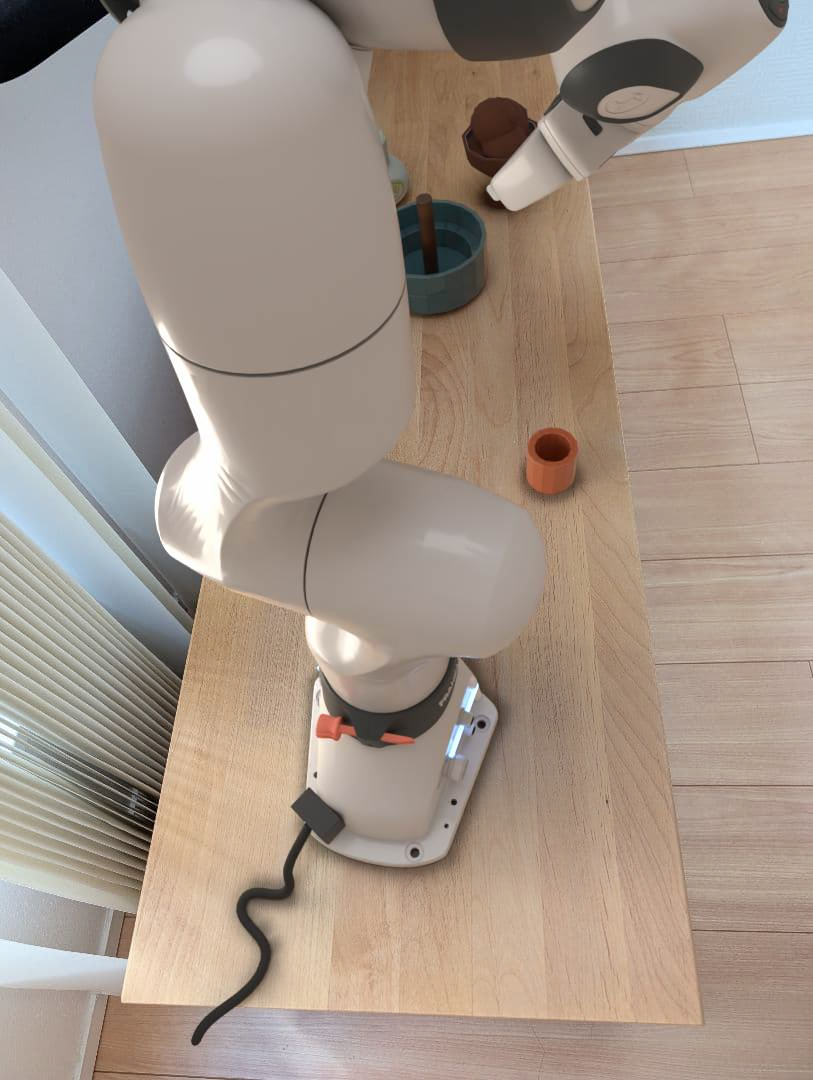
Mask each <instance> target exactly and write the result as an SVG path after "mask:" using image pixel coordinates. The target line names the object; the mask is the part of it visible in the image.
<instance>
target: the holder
mask: <svg viewBox="0 0 813 1080" xmlns="http://www.w3.org/2000/svg"><path fill="white" fill-rule="evenodd" d="M578 455H579V445H578V441H577V439H576V438H575V437H574V435H573V434H572V433H571V432H569V431H568V430H565V429H563V428H561V427H553V426H552V427H551V426H550V427H546V428H541V429H539V430H537V431H536V432H535V433H533V434H532V435H531V436H530V438H529V440H528V442H527V445H526V465H525V467H526V468H525V473H526V480H527V482H528V484H529V485H530V487H532V489H533V490H535V491H537V492H538V493H541V494H543V495H557V494H560V493H563V492H565V491H567V490H568V489H569V488H570V487H571V486H572V484H573V483H574V480H575V477H576V472H577V463H578V457H579V456H578Z"/></svg>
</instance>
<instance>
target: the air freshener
mask: <svg viewBox="0 0 813 1080" xmlns="http://www.w3.org/2000/svg"><path fill="white" fill-rule="evenodd" d="M378 132H379V136H380V139H381V143H382V146H383V150H384V154H385V158H386V163H387V167H388V171H389V176H390V180H391V184H392V189H393V193H394V199H395V205H397V204H398V203H399V202H400V201H402V199H403V198H404V197H405V196H406V194H407V191H408V190H409V184H410V175H409V172H408V171H409V170H408V168H407V166H406V165H405V164H404V163H403V161H402V160H400V159H399V157H397V156H395V155H393V154H391V153H389V147H388V143H387V136H386V134H385V132H384V131H383V130H382V129H380V128H378Z"/></svg>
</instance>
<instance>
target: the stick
mask: <svg viewBox="0 0 813 1080" xmlns="http://www.w3.org/2000/svg"><path fill="white" fill-rule="evenodd" d="M432 199H433V196H432V195H431V194H430V193H428V192H425V193H424V192H423V193H420V194H418V195H417V196H416V199H415V200H416V201H415V202H417V211H418V220H419V228H420V237H421V246H422V254H423V263H424V271H425V275H430V274H436V273H439V265H438V254H437V244H436V233H435V223H434V213H433V202H432Z"/></svg>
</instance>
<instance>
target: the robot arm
mask: <svg viewBox="0 0 813 1080" xmlns="http://www.w3.org/2000/svg"><path fill="white" fill-rule="evenodd" d="M99 2H100V3H101V4H102V6H103V8H104V9H105V10H106V11H107V13H109V15H110V16H111V17H112V18H113V19H114V21H116V22H117V23H118V26H117V28H115V30H114V31H113V33H112V34H111V36H110V37H109V38H108V40H107V42H106V43H105V45H104V47H103V49H102V52H101V54H100V57H99V59H98V62H97V64H96V69H95V73H94V77H93V91H92V106H93V108H92V109H93V117H94V121H95V128H96V131H97V137H98V142H99V147H100V152H101V157H102V161H103V166H104V170H105V174H106V177H107V182H108V187H109V191H110V194H111V199H112V203H113V206H114V210H115V215H116V218H117V222H118V226H119V228H120V232H121V235H122V239H123V242H124V245H125V248H126V251H127V255H128V258H129V262H130V263H131V267H132V269H133V272H134V276H135V277H136V280H137V283H138V286H139V289H140V292H141V294H142V297H143V299H144V301H145V304H146V306H147V307H146V308H147V309H148V311H149V314H150V316H151V319H152V321H153V323H154V326H155V328H156V330H157V332H158V335H159V338H160V340H161V342H162V344H163V346H164V348H165V350H166V353H167V356H168V358H169V360H170V362H171V364H172V367H173V369H174V373H175V374H176V376H177V379H178V381H179V384H180V386H181V388H182V391H183V394H184V396H185V399H186V402H187V404H188V406H189V409H190V411H191V415H192V416H193V419H194V422H195V424H196V427H197V431H195V432H194V433H192V434H191V435H190V436H189V437H187V438H186V439H185V440H183V442H182V443H180V445H178V447H177V448H176V449H175V450H174V451H173V452H172V454H171V455H170V457H169V458H168V460H167V461H166V463H165V465H164V467H163V469H162V472H161V474H160V476H159V480H158V482H157V487H156V489H155V490H156V491H155V498H154V518H155V525H156V530H157V533H158V535H159V538H160V541H161V545H162V546H163V548H164V549H165V551H166V552H167V554H169V556H170V557H171V558H173V559H175V560H176V561H178V562H179V563H181V564H183V565H184V566H186V567H188V568H189V569H191V570H192V571H195V572H196V573H197V574H199V575H201V576H202V577H205V578H206V579H208V580H210V581H212V582H213V583H215V584H217V585H219V586H220V587H222V588H225V589H226V590H228V591H231V592H233V593H237V594H240V595H242V596H245V597H249V598H253V599H255V600H258V601H262V602H265V603H267V604H270V605H273V606H277V607H280V608H283V609H285V610H289V611H291V612H295V613H299V614H302V615H305V619H304V633H305V640H306V643H307V646H308V648H309V651H310V653H311V655H312V656H313V658H314V660H315V661H316V663H317V665H318V666H317V667H316V669H317V670H318V675H319V676H318V677H317V678H316V680H315V682H314V685H313V696H312V709H311V722H310V734H309V746H308V759H307V772H306V784H305V786H306V787H305V790H304V791H303V792H302V793H301V795H299V796H298V798H297V799H296V800H295V801H294V802H293V803H292V804H291V805H289V807H290V808H291V809H292V810H293V811H294V813H295V814H297V816H298V817H299V818H300V819H301V820H302V821H303V825H302V828H301V830H300V831H299V833H298V835H297V836H296V839H295V840H294V842H293V844H292V845H291V848H290V850H289V851H288V853H287V856H286V859H285V861H284V864H283V868H282V877H283V881H284V886H283V887H281V888H277V889H276V888H268V887H267V888H266V887H251V888H248V889H246V890H245V891H243V892H242V894H241V895H240V896H239V898H238V900H237V902H236V907H235V908H236V910H235V912H236V916H237V919H238V921H239V922H240V924H241V926H242V927H243V928H244V929H245V930H246V931H247V933H248V934H249V935H250V936H251V937H252V938H253V940H254V941H255V942H256V944H257V946H258V948H259V951H260V959H259V962H258V966H257V968H256V970H255V972H254V973H253V975H252V976H251V978H250V979H249V980H248V981H247V982H246V983H245V985H244V986H242V987H241V988H240V989H239V990H238V991H237V992H235V993H234V994H233V995H231V996H230V997H228V998H227V999H226V1000H225V1001H223V1002H222V1003H220V1004H219V1005H218V1006H216V1007H215V1008H214V1009H212V1010H211V1011H210V1012H209V1013H208V1014H206V1015H205V1016H204V1017H203V1018H202V1020H201V1021H200V1022H199V1023H198V1025H196V1027H195V1029H194V1031H193V1033H192V1036H191V1039H190V1043H191V1045H192V1046H194V1047H196V1046H199V1045H200V1043H201V1042H202V1040H203V1038H204V1036H205V1034H206V1033H207V1031H208V1030H209V1029H210V1028H211V1027H212V1026H213V1025H214V1024H215V1023H216V1022H218V1021H219V1020H220V1019H221V1018H223V1017H224V1016H225V1015H227V1014H228V1013H229V1012H231V1011H233V1009H235V1008H236V1007H237V1006H239V1005H240V1004H241V1003H242V1002H244V1001H245V1000H246V999H247V998H248V997H249V996H250V995H252V993H254V992H255V990H257V988H258V987H259V985H260V984H261V983H262V981H263V980H264V978H265V976H266V974H267V972H268V970H269V966H270V962H271V957H272V950H271V946H270V943H269V941H268V938H267V937H266V936H265V934H264V932H262V930H261V929H260V928H259V927H258V926H257V925H256V923H255V922H254V921H253V920H252V919H251V918H250V916H249V914H248V911H247V906H248V903H249V902H250V900H252V899H265V900H273V901H278V900H283V899H286V898H288V897H289V896H291V894H292V893H293V891H294V890H295V888H296V887H295V878H294V868H295V865H296V862H297V859H298V857H299V855H300V854H301V852H302V849H303V848H304V846H305V844H306V842H307V841H308V839H309V838H310V835H311V836H312V838H314V839H315V840H316V841H317V842H319V843H320V844H321V845H322V846H324V847H325V848H327V849H329V850H331V851H333V852H334V853H337V854H338V855H341V856H344V857H347V858H349V859H352V860H355V861H359V862H362V863H367V864H371V865H376V866H383V867H392V868H416V867H423V866H426V865H430V864H433V863H436V862H438V861H441V860H443V859H444V858H445V857H446V856H447V855H448V854H449V851H450V849H451V847H452V844H453V841H454V839H455V836H456V833H457V831H458V829H459V826H460V823H461V820H462V818H463V815H464V812H465V810H466V807H467V804H468V802H469V798H470V797H471V794H472V791H473V788H474V785H475V782H476V780H477V778H478V775H479V772H480V769H481V767H482V764H483V762H484V759H485V756H486V753H487V750H488V748H489V746H490V743H491V741H492V738H493V734H494V732H495V729H496V727H497V724H498V721H499V712H498V708H497V707H496V705H495V704H494V703H493V702H492V700H491V699H489V698H488V696H486V695H485V694H484V693H483V692H481V688H480V686H479V685H480V684H479V682H478V680H477V678H476V676H475V675H474V673H473V672H472V670H471V669H470V668H469V667H468V665H467V664H466V663H465V661H464V660H463V659H462V658H467V659H488V658H490V657H492V656H494V655H496V654H498V653H499V652H501V651H502V650H504V649H506V648H507V647H508V646H509V645H512V643H513V642H515V641H516V639H517V638H518V637H519V636H521V634H523V632H524V631H525V630H526V629H527V627H528V626H529V625H530V623H531V621H533V618H534V617H535V615H536V613H537V612H538V609H539V607H540V605H541V602H542V600H543V596H544V593H545V588H546V583H547V574H548V562H547V560H548V559H547V554H546V552H547V551H546V547H545V543H544V539H543V536H542V533H541V530H540V528H539V526H538V524H537V522H536V519H535V518H534V516H533V515H532V513H531V511H529V509H528V508H526V507H524V506H522V505H521V504H518V503H516V502H515V501H512V500H510V499H508V498H506V497H504V496H502V495H500V494H499V493H496V492H495V491H492V490H489V489H487V488H485V487H483V486H480V485H479V484H477V483H475V482H472V481H470V480H468V479H466V478H464V477H462V476H457V475H454V474H449V473H445V472H441V471H438V470H433V469H429V468H427V467H422V466H418V465H414V464H411V463H406V462H403V461H398V460H396V459H390V458H387V455H388V454H389V453H391V451H392V450H393V449H394V448H395V447H396V446H397V445H398V443H399V442H400V440H402V437H403V436H404V434H405V432H406V430H407V428H408V426H409V424H410V422H411V419H412V416H413V414H414V413H413V412H414V409H415V406H416V405H415V404H416V399H417V391H418V387H417V373H416V366H415V365H416V364H415V355H414V354H415V353H414V345H413V334H412V325H411V315H410V314H411V313H410V312H409V303H408V293H407V283H406V273H405V266H404V258H403V250H402V242H401V234H400V227H399V222H398V216H397V210H396V208H397V206H396V205H397V204H396V205H395V199H394V193H393V189H392V184H391V180H390V176H389V171H388V167H387V163H386V158H385V154H384V150H383V146H382V143H381V139H380V136H379V132H378V129H379V128H378V125H377V122H376V118H375V114H374V110H373V107H372V105H371V101H370V98H369V96H368V91H369V82H370V73H371V69H372V62H373V57H374V51H373V50H372V49H381V50H393V51H413V52H414V51H418V52H451V51H452V52H455V53H456V54H457V56H459V57H460V58H462V59H464V60H466V61H469V62H478V63H479V62H504V61H517V60H523V59H530V58H535V57H541V56H546V55H549V58H550V62H551V67H552V70H553V74H554V79H555V82H556V85H557V88H558V91H557V93H556V95H555V97H554V98H553V100H552V101H551V103H550V104H549V106H548V108H547V109H546V110H545V111H544V112H543V115H542V116H541V118H540V119H539V120H538V122H537V123H538V126H537V128H536V129H535V130H534V131H533V132H532V133H531V135H530V136H529V137H528V138H527V139H526V140H525V141H524V143H523V144H522V145H521V146H520V147H519V148H518V150H517V151H516V152H515V153H514V154H513V155H512V157H511V158H510V159H509V160H508V161H507V162H506V163H505V165H504V166H503V167H502V168H501V169H500V170H499V171H498V172H497V174H496V175H495V176H494V177H493V178H492V177H491V180H490V182H489V183H488V184H487V186H486V189H485V190H487V192H488V193H489V194H490V196H491V197H492V198H493V199H494V200H495V201H498V200H500V201H501V202H502V203H503V204H504V205H505V207H506V208H505V209H507V210H508V211H510V212H518V211H520V210H523V209H525V208H526V207H529V206H531V205H532V204H535V203H536V202H538V201H540V200H542V199H544V198H545V197H547V196H549V195H551V194H552V193H554V192H556V191H557V190H560V189H561V188H562V187H564V185H566V184H567V183H569V182H570V181H572V180H573V179H574V180H575V181H576V182H579V183H580V182H583V181H585V180H586V179H588V178H590V177H591V176H592V175H593V174H594V173H596V172H597V171H598V170H599V169H600V168H602V166H604V164H605V163H607V162H608V160H610V158H612V157H613V156H614V155H615V154H616V153H617V152H619V151H621V150H622V149H624V148H625V147H627V146H628V145H630V144H631V143H633V142H634V141H636V140H638V138H640V137H641V136H643V135H644V134H646V133H647V132H648V131H650V130H652V129H653V128H655V127H656V126H658V125H660V124H661V123H663V122H664V121H665V120H666V119H667V118H668V117H669V116H671V114H672V113H673V112H674V111H675V109H676V108H677V107H679V106H681V105H682V104H684V103H686V102H690V101H693V100H694V101H695V100H697V99H699V98H701V97H702V96H704V95H706V94H707V93H708V92H710V91H712V90H713V89H715V88H716V87H718V86H719V85H720V84H722V83H723V82H725V81H726V80H728V79H729V78H730V77H732V76H734V74H736V73H737V72H738V71H740V70H741V69H742V68H744V67H745V66H746V65H747V64H749V63H750V62H751V61H753V60H755V58H756V57H757V56H759V55H760V54H761V53H762V52H763V51H764V50H766V48H768V47H769V46H770V45H771V44H772V43H773V42H774V41H775V40H776V39H777V38H778V37H779V36H780V34H781V33H782V32H783V30H784V29H785V27H786V25H787V22H788V15H789V9H790V0H99ZM129 12H130V14H129V15H128V13H129ZM479 723H484V724H485V726H484V727H483V728H480V727H478V725H479ZM453 802H456V804H455V805H454V804H452V803H453ZM446 826H447V827H446ZM413 850H418V851H419V853H418V855H417V857H413V856H412V852H413Z"/></svg>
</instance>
